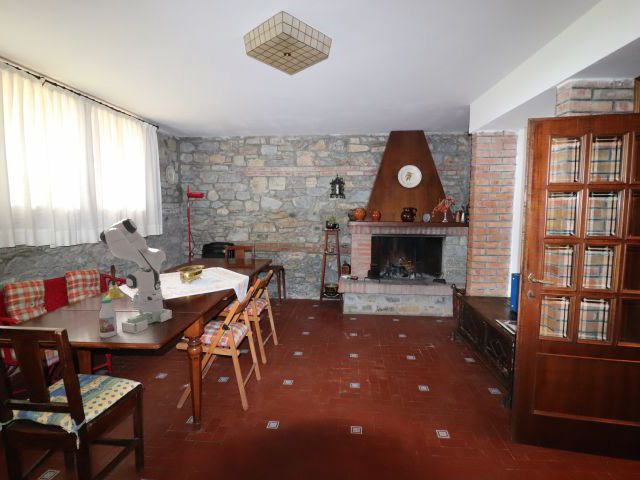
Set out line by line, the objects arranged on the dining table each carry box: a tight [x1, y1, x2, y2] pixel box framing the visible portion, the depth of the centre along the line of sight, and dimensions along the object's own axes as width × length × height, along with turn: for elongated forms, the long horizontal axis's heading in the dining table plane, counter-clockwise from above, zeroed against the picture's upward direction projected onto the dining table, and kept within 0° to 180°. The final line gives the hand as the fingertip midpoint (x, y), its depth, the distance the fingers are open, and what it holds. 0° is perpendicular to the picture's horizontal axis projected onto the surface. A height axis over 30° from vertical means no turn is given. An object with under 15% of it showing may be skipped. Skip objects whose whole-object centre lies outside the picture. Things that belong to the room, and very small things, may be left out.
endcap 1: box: [121, 319, 149, 334], centre depth 181 cm, size 8×10×5 cm
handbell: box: [104, 264, 125, 300], centre depth 246 cm, size 12×12×25 cm
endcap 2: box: [157, 309, 173, 323], centre depth 198 cm, size 8×10×5 cm
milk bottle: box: [98, 298, 118, 339], centre depth 172 cm, size 8×8×20 cm
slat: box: [127, 308, 167, 325], centre depth 189 cm, size 21×4×6 cm, turn 150°
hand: (148, 318), depth 189 cm, fingers open, 7 cm apart
